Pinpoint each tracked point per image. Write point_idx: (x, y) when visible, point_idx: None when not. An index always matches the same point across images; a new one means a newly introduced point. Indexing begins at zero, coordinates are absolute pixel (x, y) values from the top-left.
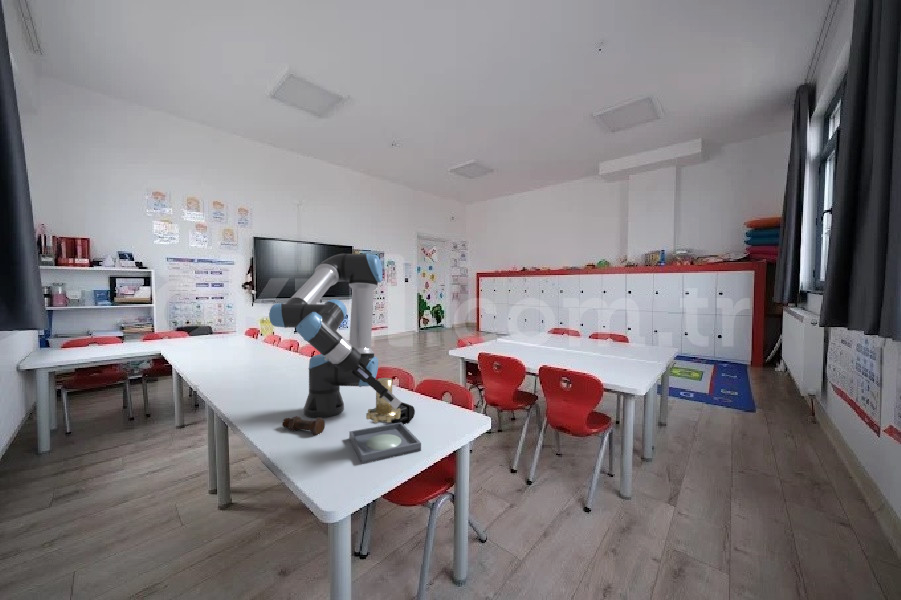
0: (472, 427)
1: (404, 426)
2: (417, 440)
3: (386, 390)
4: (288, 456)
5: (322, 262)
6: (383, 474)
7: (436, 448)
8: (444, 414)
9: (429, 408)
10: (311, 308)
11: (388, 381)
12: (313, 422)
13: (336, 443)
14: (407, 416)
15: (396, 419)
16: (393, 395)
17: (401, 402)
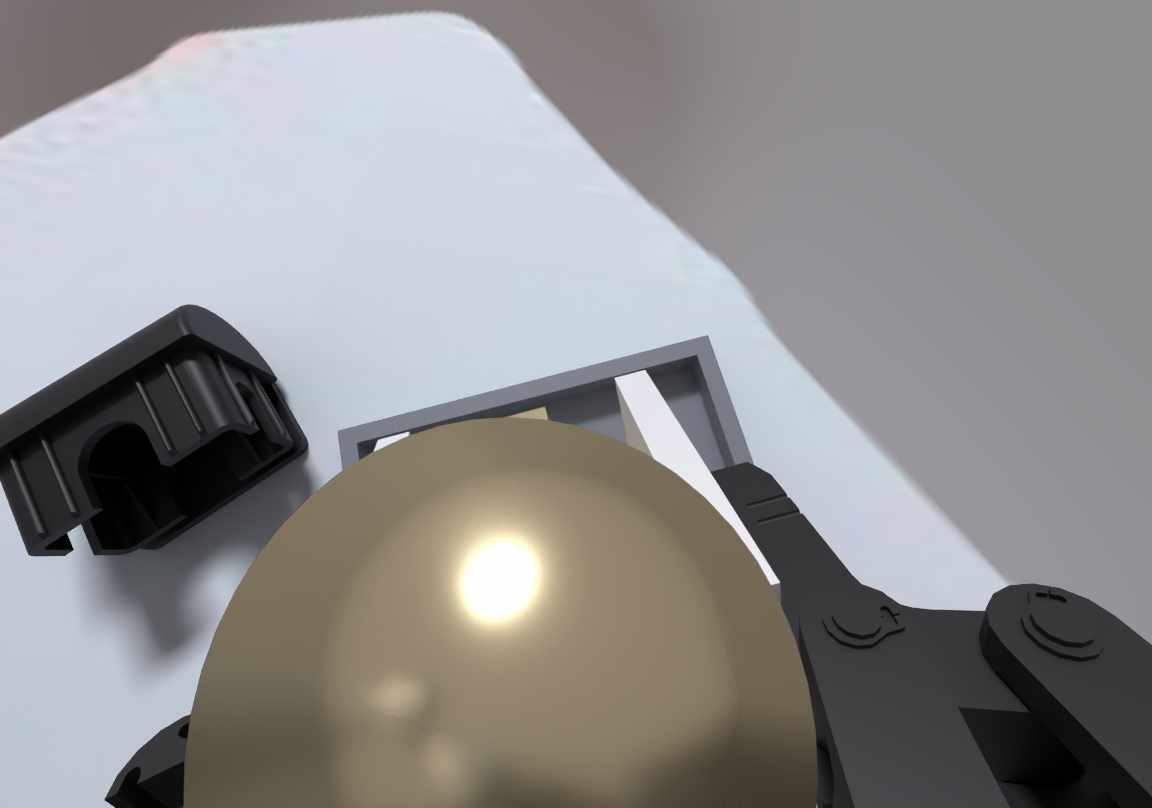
0: (459, 52)
1: (422, 414)
2: (668, 353)
3: (1108, 641)
4: None
5: None
6: (964, 593)
7: (682, 269)
8: (220, 153)
9: (77, 223)
10: None
11: (756, 569)
12: None
13: None
14: (248, 376)
15: (240, 462)
16: (701, 463)
17: (645, 372)
